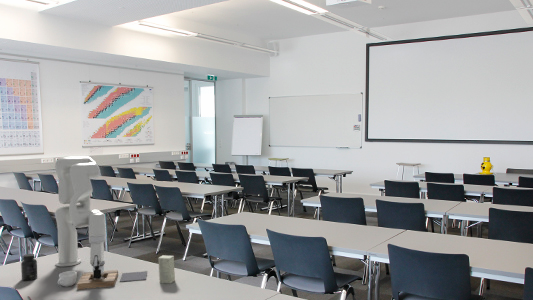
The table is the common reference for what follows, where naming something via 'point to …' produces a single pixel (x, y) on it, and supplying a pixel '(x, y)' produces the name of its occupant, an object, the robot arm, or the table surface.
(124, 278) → the mat
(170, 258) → the skincare box
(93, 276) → the grey light bulb
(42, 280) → the table surface
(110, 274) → the wooden square frame
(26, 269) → the supplement bottle
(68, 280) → the teacup
